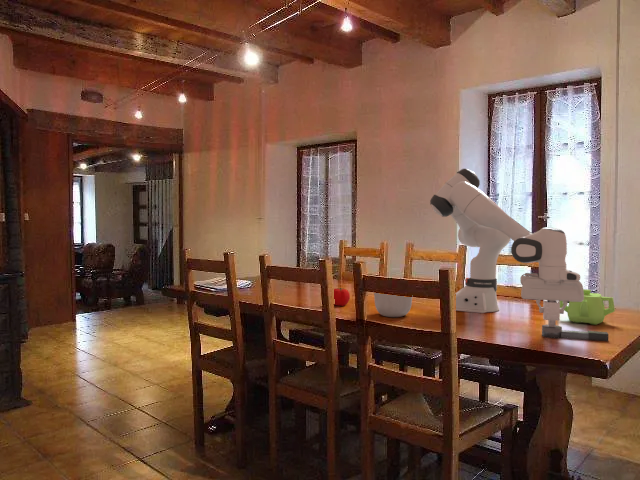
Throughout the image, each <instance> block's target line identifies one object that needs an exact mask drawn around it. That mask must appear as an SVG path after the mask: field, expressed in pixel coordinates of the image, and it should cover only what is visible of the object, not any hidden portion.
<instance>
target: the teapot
mask: <svg viewBox="0 0 640 480" xmlns="http://www.w3.org/2000/svg"><path fill="white" fill-rule="evenodd" d="M583 291H584V300H583V301H582V302H571V301H568V305H567V306H566V307H565V309H564V312H566V314H567V317H568V319H569V321H570V322H573V323H575V324H580V323H585V324H590V325H593V326H594V325H596V326H597V325H598V324H601V323H602V322H604V319H605V318H606V316H608V315H609V314H612V313H614V312H615V311H616V308H615V301H614V297H613V296H612V297H609V296H602V294H601V293H597V292H596V293H593V292H592V290H591V289H586V288H585V289H584V288H583ZM604 301H605V302H607V301H608V308H605V304H604ZM559 302H560V308H562V307H563V305H564V304H563V301H559Z"/></svg>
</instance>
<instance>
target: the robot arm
mask: <svg viewBox="0 0 640 480" xmlns="http://www.w3.org/2000/svg"><path fill="white" fill-rule="evenodd" d="M480 183H481V180H480V178H479V177H478V175H477V174H476V173H475V172H474V171H472V170H471V169H469V168H462V169H460V170H459V171H457V172H456V173H455V174H454V175H453V176H452V177H450V178H449V179H448V180H447V181H445V183H444V184H443V185H442V186H441V187H440V188H439V190H437V192H436V193H435V194H433V196H432V197H431V198H430V200H429V204H430V206H431V209H432V210H433V212H434V213H435V214H437V215H439V216H441V217H443V218H445V217H448V216H451V218H452V219H453V220H454V221H455V222H456V224H457V226H458V227H459V229H458V232H457V237H458V241H459V243H460V244H462V245H465V246H467V247H471V248H479V251H478V253H477V255H476V256H474V257H473V258H472V259H471V260H470V264H469V265H470V266H469V267H470V270H469V272H470V273H469V276H470V277H466V278H465V279H464V281H465V286H464V287H462V288H460V289H459V290H457V292H455V294H456V310H455V311H459V312H466V313H468V312H469V313H477V314H478V313H480V314H484V313H492V312H493V313H494V312H499V311H500V308H499V304H498V298H497V290H498V281H497V280H498V279H497V263H498V258H499V256H500V254H501V252H502V250H503V249H504V248H505V247H507V246H508V245H509V243H510V241H511V240H512V241H513V242H512V244H511V246H510V247H511V248H510V253H511V255H512V257H513V259H514V260H515V261H516V262H519V263H522V264H531V263H538V273H537V272H536V273H535V272H534V273H533V272H532V273H529V272H525V273H523V274H522V275H521V276H520V285H521V292H520V293H521V294H520V295H521V296H520V297H521V298H522V299H523V300H534V301H535V303H536V305H537V307H538V308H539V309H538V311H539V313H542V314H543V313H544V307H543V306H541V304H540V303H541V301H544V300H553V301H559V302H560V301H563V304H564V305H563V307H562V308H560V315H564V314H565V311H564V309H565V307H566V306H568V305H569V301H571V302H582V301H583V300H584V291H583V289H584V286H583V283H582V282H581V281H580V280H581V275H580V273H578V272H575V271H572V270H569V269H567V262H566V258H567V253H568V252H567V251H568V248H567V235H566V233H565V232H564V231H563V230H562V229H559V228H555V227H547V226H546V227H542V228H540V230H537V231H535V232H531V231H530V230H528V229H527V228H525V227H524V226H523V225H521V223H519V222H518V221H516V220H515V219H514V218H512V217H511V216H510V215H509V214H507V212H506V211H504V210H503V209H502V208H501V207H500V206H499V205H498V204H497V203H495V202H494V201H495V200H494V201H493V200H492V199H491V197H489V196H488V195H487V194H486V193H485V192H483V191H482V190H481V189H480V188H479V187H480V185H481V184H480Z"/></svg>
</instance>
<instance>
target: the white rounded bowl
mask: <svg viewBox="0 0 640 480" xmlns="http://www.w3.org/2000/svg"><path fill="white" fill-rule="evenodd" d="M373 295H374V297H373V298H374V306H375V309H376V311H377V312H378V313H379V314H380V315H381V316H383V317H387V318H399V317H403V316H406V315H407V314H409V312H410V311H411V308H412V305H413V296H412V297H404V296H396V295H387V294H379V293H374V292H373Z"/></svg>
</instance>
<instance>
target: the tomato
mask: <svg viewBox="0 0 640 480" xmlns="http://www.w3.org/2000/svg"><path fill="white" fill-rule="evenodd" d="M333 289H334V299H335V305H334V306H338V307H340V306H341V307H343V306H346V305H347V304H348V303H349V301H350V299H351V295H350V291H348V290H347V288H342V287H338V288H337V287H335V288H333Z"/></svg>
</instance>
